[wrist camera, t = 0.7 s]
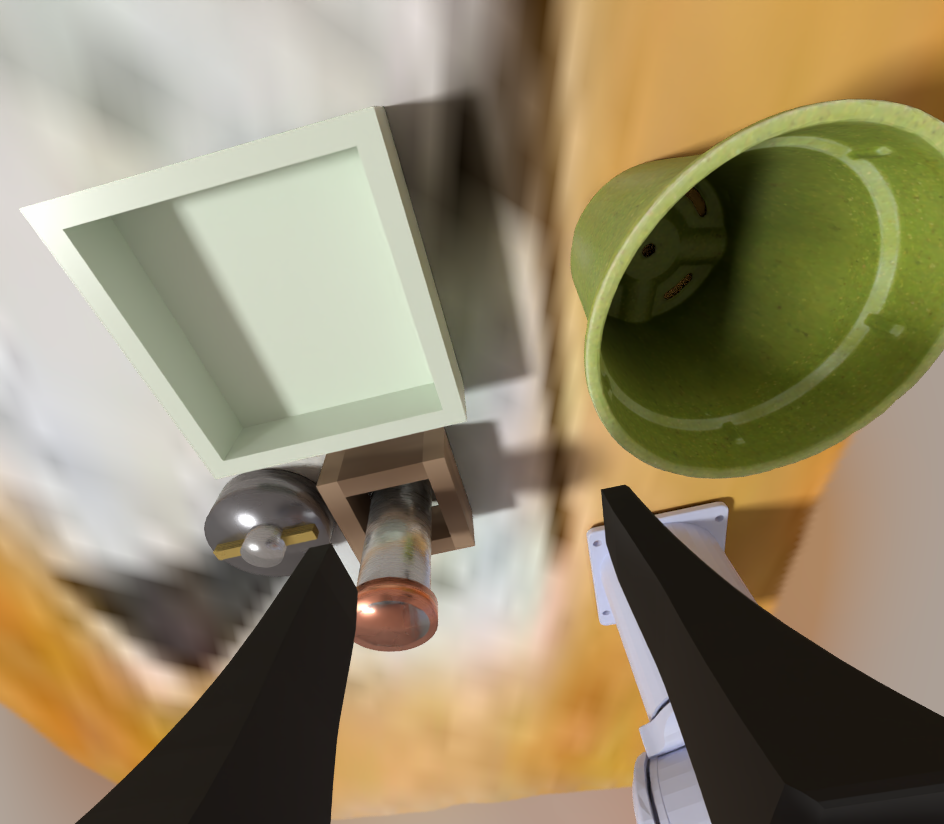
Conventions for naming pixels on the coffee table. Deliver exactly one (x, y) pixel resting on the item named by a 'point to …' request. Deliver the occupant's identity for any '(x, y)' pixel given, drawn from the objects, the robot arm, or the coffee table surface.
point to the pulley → (268, 522)
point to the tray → (269, 293)
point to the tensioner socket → (392, 466)
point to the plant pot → (766, 288)
